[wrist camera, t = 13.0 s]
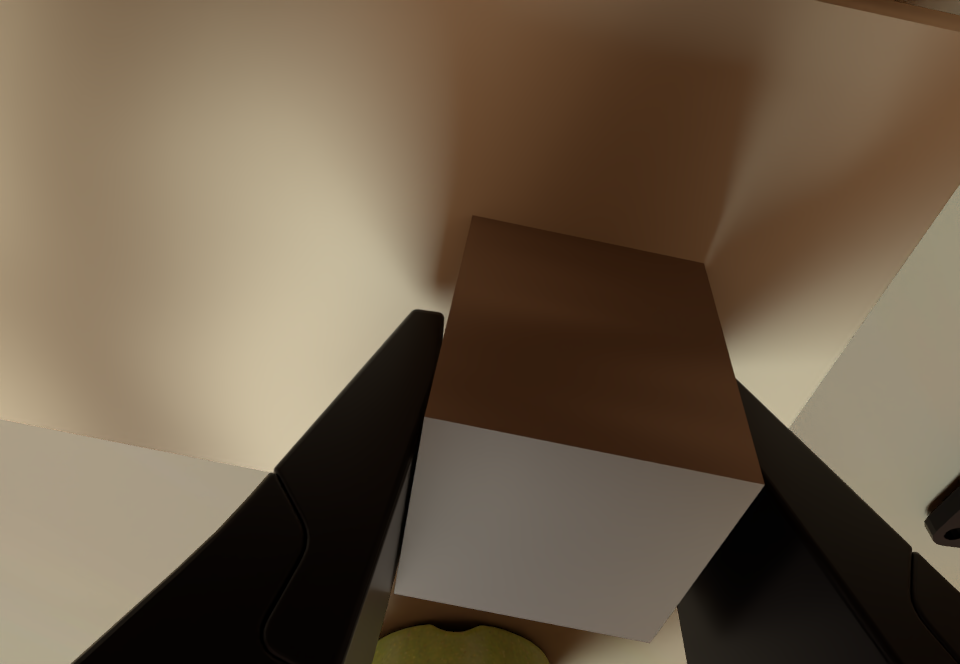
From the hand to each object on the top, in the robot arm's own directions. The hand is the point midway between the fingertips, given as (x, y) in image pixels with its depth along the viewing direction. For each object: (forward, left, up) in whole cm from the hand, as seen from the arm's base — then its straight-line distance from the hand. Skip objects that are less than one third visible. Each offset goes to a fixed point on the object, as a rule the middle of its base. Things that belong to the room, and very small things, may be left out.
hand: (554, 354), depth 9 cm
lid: (+6, 0, -2) cm, 6 cm away
